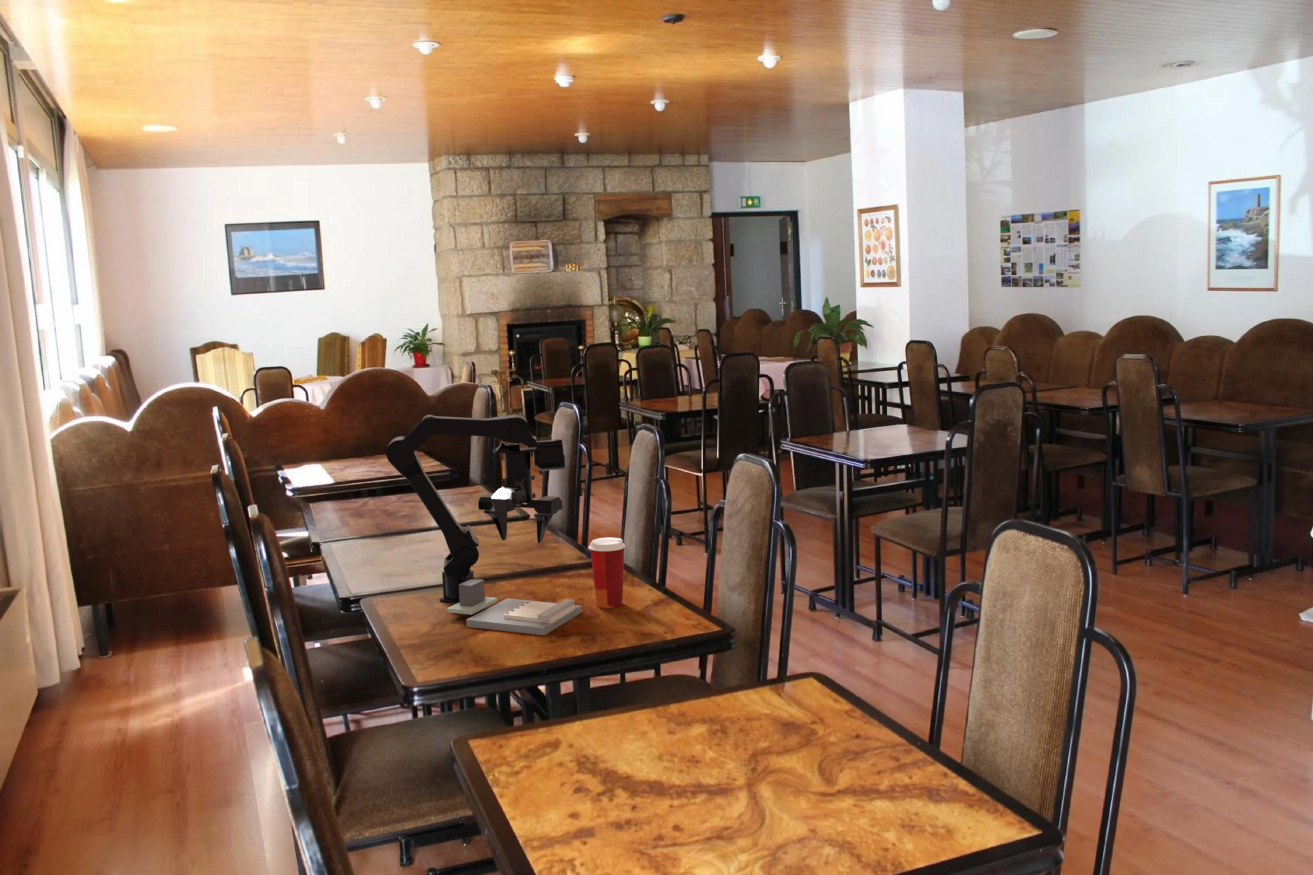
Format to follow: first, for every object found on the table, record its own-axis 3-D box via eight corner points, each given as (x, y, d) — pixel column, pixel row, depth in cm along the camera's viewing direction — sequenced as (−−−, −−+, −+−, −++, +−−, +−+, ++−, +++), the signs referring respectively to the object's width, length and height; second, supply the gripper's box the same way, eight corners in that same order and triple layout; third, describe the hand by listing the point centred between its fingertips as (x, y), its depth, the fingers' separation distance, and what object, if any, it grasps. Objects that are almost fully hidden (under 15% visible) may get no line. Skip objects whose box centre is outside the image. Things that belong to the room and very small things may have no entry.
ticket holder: (466, 626, 225) (465, 610, 224) (507, 605, 239) (506, 590, 239) (544, 635, 218) (543, 618, 217) (581, 612, 232) (581, 597, 232)
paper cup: (629, 599, 241) (627, 536, 239) (624, 609, 233) (622, 544, 231) (593, 599, 242) (591, 536, 240) (588, 609, 234) (585, 545, 232)
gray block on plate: (447, 612, 230) (445, 587, 229) (473, 599, 239) (472, 575, 238) (471, 614, 228) (470, 589, 227) (497, 601, 237) (496, 577, 236)
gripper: (462, 476, 241) (466, 546, 243) (536, 480, 233) (540, 552, 235) (489, 468, 251) (493, 535, 253) (562, 471, 243) (565, 540, 245)
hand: (521, 541), depth 246 cm, fingers open, 9 cm apart
